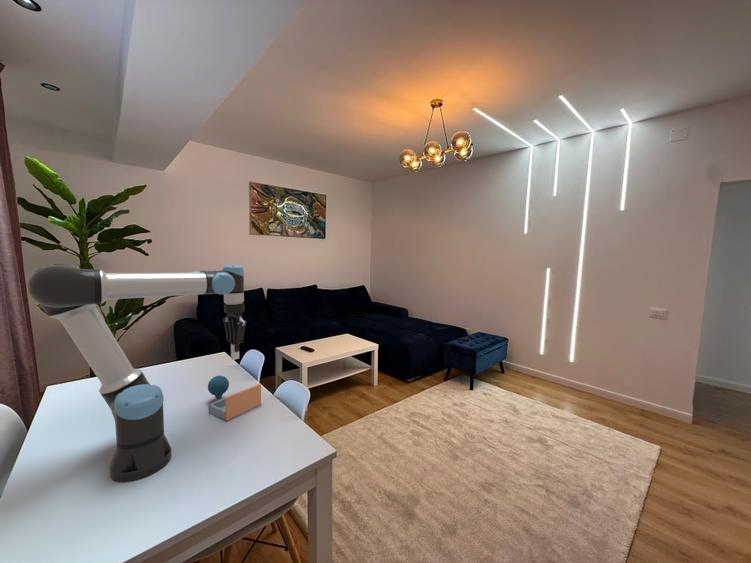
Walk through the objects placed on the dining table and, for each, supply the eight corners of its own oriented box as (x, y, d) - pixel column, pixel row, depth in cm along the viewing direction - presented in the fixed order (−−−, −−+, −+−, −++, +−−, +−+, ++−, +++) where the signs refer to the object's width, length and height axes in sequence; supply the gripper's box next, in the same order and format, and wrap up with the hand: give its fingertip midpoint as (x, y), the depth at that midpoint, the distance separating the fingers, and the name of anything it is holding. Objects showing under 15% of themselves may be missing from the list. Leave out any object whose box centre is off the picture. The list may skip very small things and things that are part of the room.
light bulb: (223, 407, 130) (222, 380, 129) (204, 406, 130) (203, 379, 129) (232, 398, 138) (232, 372, 137) (214, 397, 138) (214, 372, 137)
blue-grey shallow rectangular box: (224, 421, 118) (224, 412, 118) (208, 413, 124) (208, 404, 124) (259, 405, 132) (259, 396, 132) (243, 398, 138) (243, 390, 137)
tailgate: (227, 423, 118) (226, 398, 117) (225, 422, 118) (225, 397, 117) (261, 406, 131) (261, 384, 130) (259, 405, 132) (259, 383, 131)
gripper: (252, 303, 124) (253, 359, 126) (232, 300, 131) (234, 353, 132) (235, 305, 117) (236, 364, 119) (216, 302, 124) (217, 358, 126)
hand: (235, 358), depth 126 cm, fingers closed
